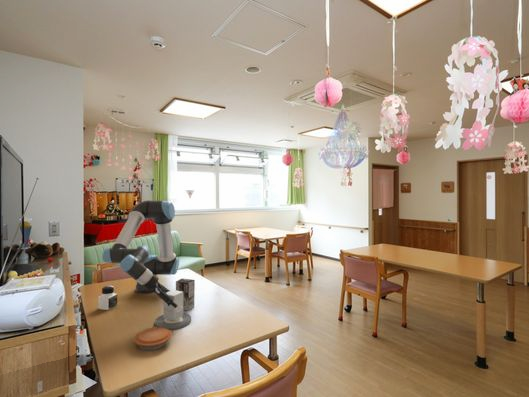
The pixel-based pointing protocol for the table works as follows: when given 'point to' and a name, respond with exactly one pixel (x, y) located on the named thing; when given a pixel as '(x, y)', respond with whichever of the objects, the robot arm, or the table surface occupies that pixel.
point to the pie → (153, 338)
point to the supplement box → (169, 310)
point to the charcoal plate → (173, 322)
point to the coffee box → (186, 292)
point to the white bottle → (107, 298)
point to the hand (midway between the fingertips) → (179, 306)
